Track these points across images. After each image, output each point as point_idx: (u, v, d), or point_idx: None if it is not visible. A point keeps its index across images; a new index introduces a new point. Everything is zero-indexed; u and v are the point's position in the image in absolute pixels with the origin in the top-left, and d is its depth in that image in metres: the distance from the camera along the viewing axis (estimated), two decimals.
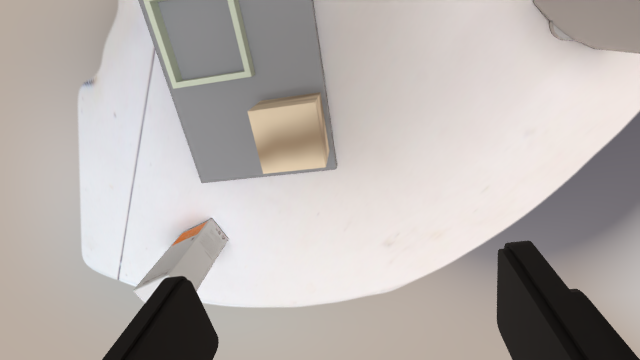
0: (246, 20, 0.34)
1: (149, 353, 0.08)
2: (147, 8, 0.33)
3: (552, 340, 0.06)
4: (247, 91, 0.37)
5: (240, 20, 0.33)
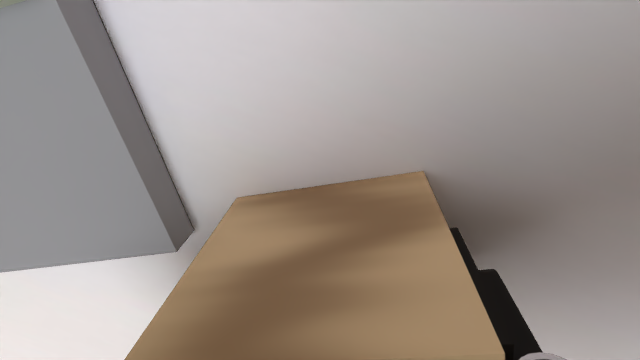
0: None
1: None
2: None
3: None
4: None
5: None
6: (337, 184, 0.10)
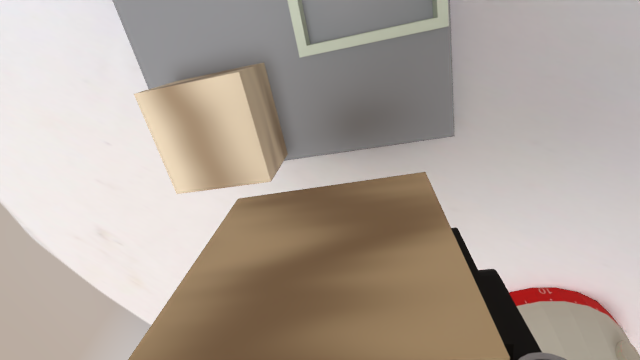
0: (384, 44, 0.21)
1: None
2: None
3: None
4: (275, 39, 0.22)
5: None
6: (339, 185, 0.10)
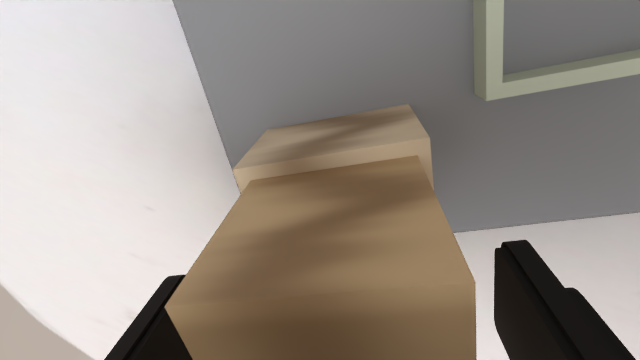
0: None
1: (152, 351, 0.08)
2: None
3: (547, 338, 0.06)
4: (434, 70, 0.14)
5: None
6: (341, 167, 0.11)
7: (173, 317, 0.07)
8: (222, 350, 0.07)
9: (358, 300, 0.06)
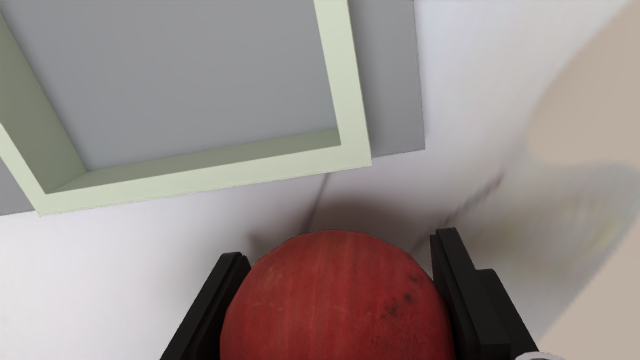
0: None
1: (221, 318, 0.09)
2: (356, 116, 0.07)
3: (453, 308, 0.07)
4: None
5: None
6: None
7: None
8: None
9: None
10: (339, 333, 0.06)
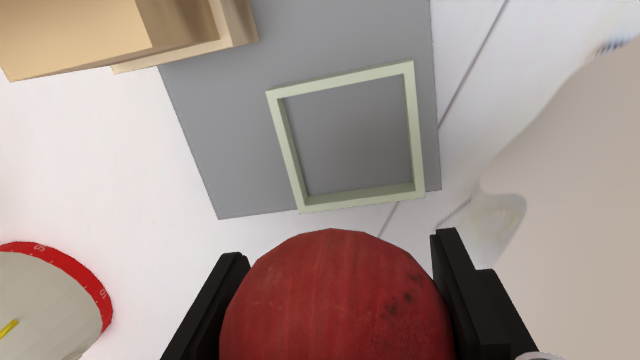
0: None
1: (221, 318, 0.09)
2: (421, 182, 0.22)
3: (453, 308, 0.07)
4: (283, 57, 0.21)
5: None
6: None
7: None
8: None
9: None
10: (338, 332, 0.06)
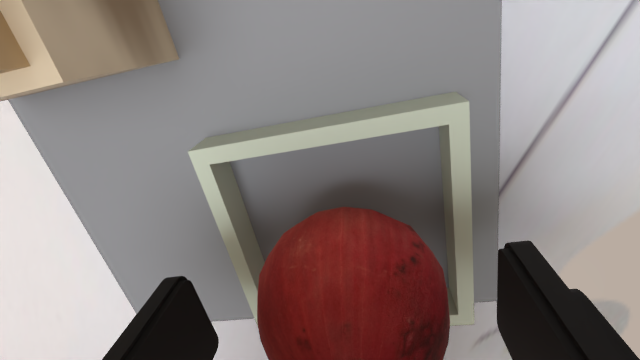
0: None
1: (149, 353, 0.08)
2: (469, 303, 0.13)
3: (552, 340, 0.06)
4: (224, 87, 0.12)
5: None
6: None
7: None
8: None
9: None
10: (362, 286, 0.08)
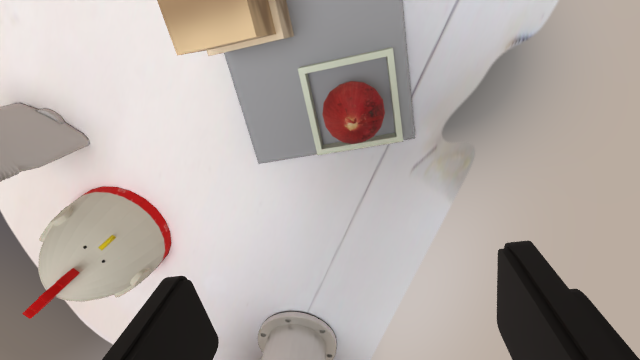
0: (308, 119, 0.35)
1: (149, 353, 0.08)
2: (400, 130, 0.33)
3: (552, 340, 0.06)
4: (309, 46, 0.32)
5: None
6: None
7: None
8: None
9: (244, 3, 0.21)
10: (355, 90, 0.28)
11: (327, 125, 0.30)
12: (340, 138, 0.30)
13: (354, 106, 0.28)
